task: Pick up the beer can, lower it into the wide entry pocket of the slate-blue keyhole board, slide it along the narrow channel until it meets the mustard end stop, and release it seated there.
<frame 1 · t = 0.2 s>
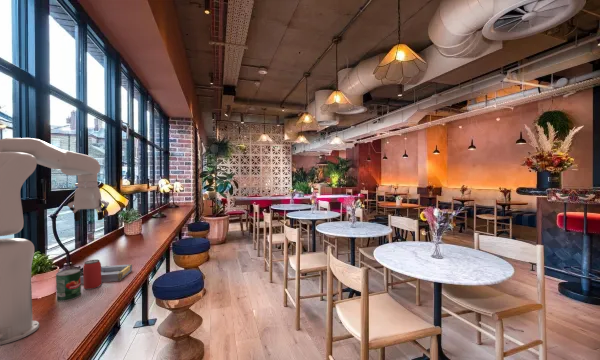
hand: (89, 220, 131), 30 cm above the table, fingers open, 9 cm apart
canned tomato: (69, 297, 115), on the table
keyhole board: (104, 277, 137), on the table
beer can: (92, 287, 125), on the table
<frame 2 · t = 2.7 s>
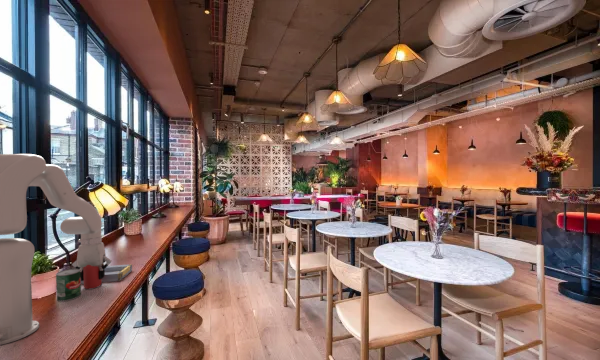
hand: (92, 278, 125), 4 cm above the table, fingers closed on beer can, 6 cm apart
beer can: (92, 287, 125), on the table, touching gripper
everything else where it was.
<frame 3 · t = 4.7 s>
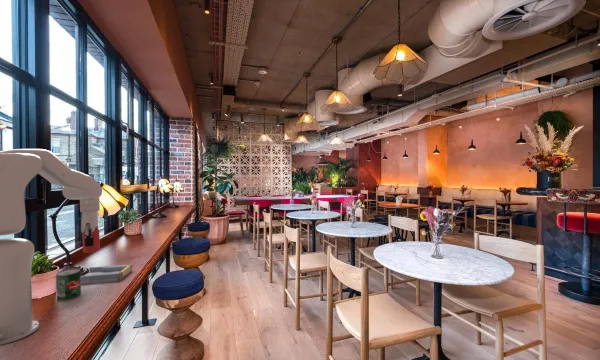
hand: (91, 243, 132), 18 cm above the table, fingers closed on beer can, 6 cm apart
beer can: (91, 251, 132), point 14 cm above the table, touching gripper
everything else where it was.
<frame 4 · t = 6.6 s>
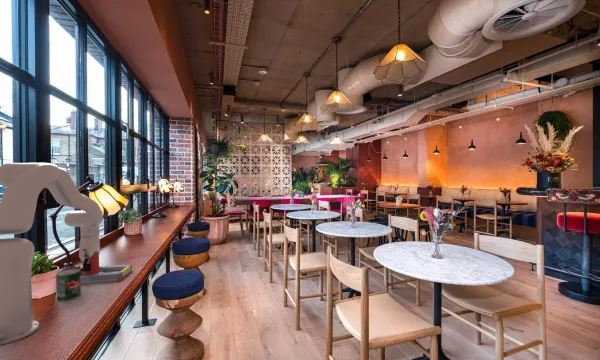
hand: (91, 268, 135), 5 cm above the table, fingers closed on beer can, 6 cm apart
beer can: (91, 276, 135), point 1 cm above the table, touching gripper
everything else where it was.
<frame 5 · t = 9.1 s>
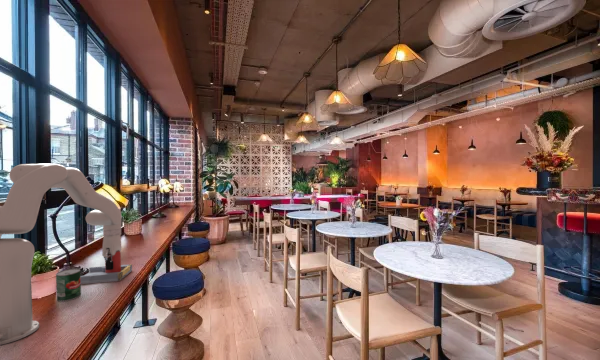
hand: (113, 266, 137), 5 cm above the table, fingers closed on beer can, 6 cm apart
beer can: (113, 274, 137), point 1 cm above the table, touching gripper
everything else where it was.
when the fingers open (5 cm above the table, at t = 10.7 s): beer can stays where it is, resting on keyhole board.
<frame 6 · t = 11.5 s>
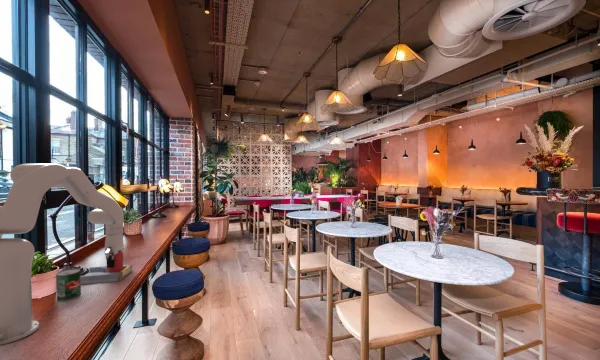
hand: (115, 264, 137), 6 cm above the table, fingers open, 9 cm apart
beer can: (115, 274, 138), point 1 cm above the table, touching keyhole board
everything else where it was.
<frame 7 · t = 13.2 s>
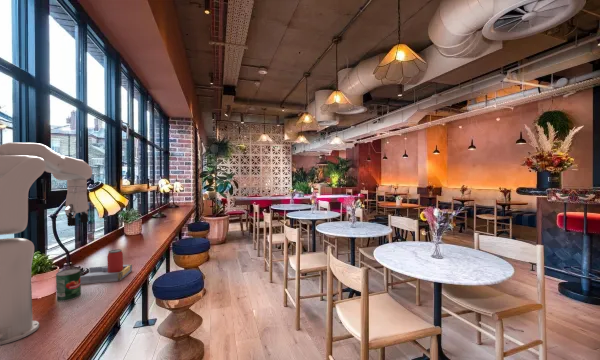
hand: (78, 224, 134), 28 cm above the table, fingers open, 9 cm apart
nothing on the table moved.
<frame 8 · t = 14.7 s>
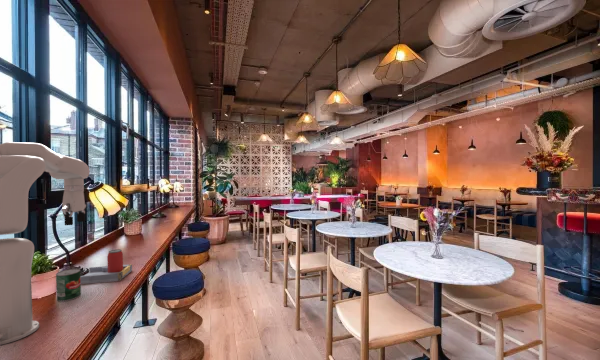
hand: (75, 223, 134), 28 cm above the table, fingers open, 9 cm apart
nothing on the table moved.
at the end: beer can 0.3 cm from the target spot, point 1.1 cm above the table; beer can tilted 0°; the gripper is holding nothing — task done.
